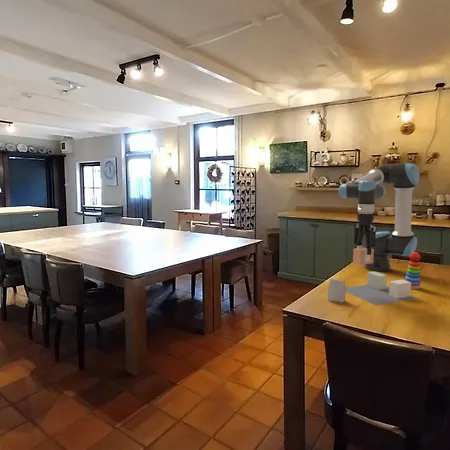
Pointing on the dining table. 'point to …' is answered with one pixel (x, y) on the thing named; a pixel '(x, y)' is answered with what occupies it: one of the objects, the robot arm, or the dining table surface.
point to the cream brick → (400, 289)
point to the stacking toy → (414, 271)
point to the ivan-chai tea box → (336, 290)
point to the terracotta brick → (361, 256)
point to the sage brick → (376, 280)
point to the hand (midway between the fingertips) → (363, 259)
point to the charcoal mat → (375, 295)
